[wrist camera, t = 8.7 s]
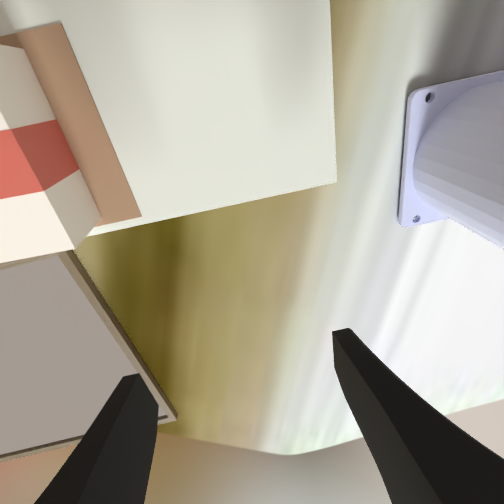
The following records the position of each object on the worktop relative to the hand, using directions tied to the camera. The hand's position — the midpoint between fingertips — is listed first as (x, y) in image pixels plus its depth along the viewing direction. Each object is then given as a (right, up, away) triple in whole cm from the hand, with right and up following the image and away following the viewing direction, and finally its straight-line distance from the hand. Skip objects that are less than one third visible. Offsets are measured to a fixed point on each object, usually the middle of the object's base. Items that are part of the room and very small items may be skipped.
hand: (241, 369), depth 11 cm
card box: (-11, +9, +4) cm, 15 cm away
